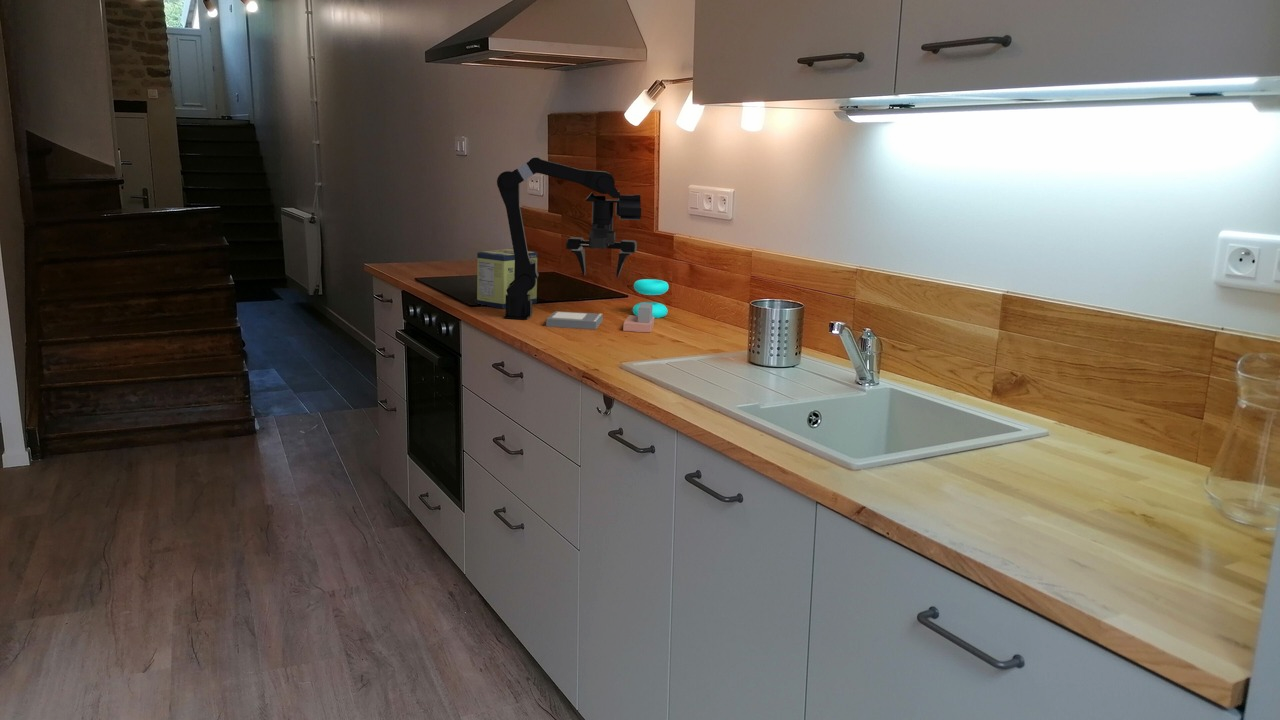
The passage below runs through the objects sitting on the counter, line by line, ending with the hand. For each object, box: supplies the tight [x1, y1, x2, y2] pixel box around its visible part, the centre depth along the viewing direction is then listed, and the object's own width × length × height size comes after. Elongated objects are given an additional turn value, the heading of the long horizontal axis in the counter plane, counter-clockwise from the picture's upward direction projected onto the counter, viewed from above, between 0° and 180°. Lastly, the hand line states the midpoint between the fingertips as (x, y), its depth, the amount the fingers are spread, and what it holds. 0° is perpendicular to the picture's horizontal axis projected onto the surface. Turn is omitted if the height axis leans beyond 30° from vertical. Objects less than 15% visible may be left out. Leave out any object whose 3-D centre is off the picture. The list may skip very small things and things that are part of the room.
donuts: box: [632, 278, 670, 319], centre depth 266 cm, size 10×10×10 cm
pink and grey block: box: [622, 302, 656, 333], centre depth 248 cm, size 7×12×6 cm, turn 174°
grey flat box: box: [545, 310, 604, 330], centre depth 251 cm, size 13×12×2 cm
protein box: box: [476, 248, 538, 310], centre depth 275 cm, size 10×16×16 cm
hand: (600, 276), depth 255 cm, fingers open, 9 cm apart
